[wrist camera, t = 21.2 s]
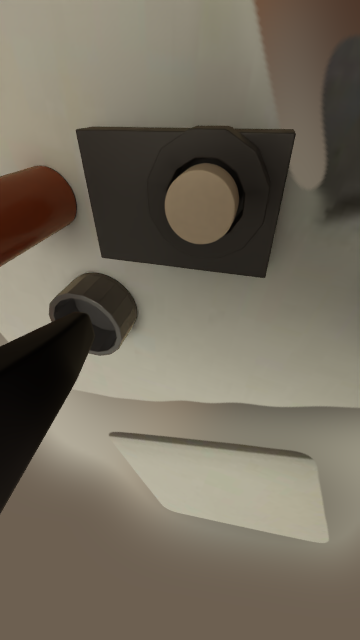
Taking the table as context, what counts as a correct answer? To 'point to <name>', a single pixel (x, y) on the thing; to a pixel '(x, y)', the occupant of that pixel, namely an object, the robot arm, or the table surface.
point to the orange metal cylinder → (32, 209)
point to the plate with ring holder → (158, 174)
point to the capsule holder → (98, 309)
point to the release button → (202, 203)
